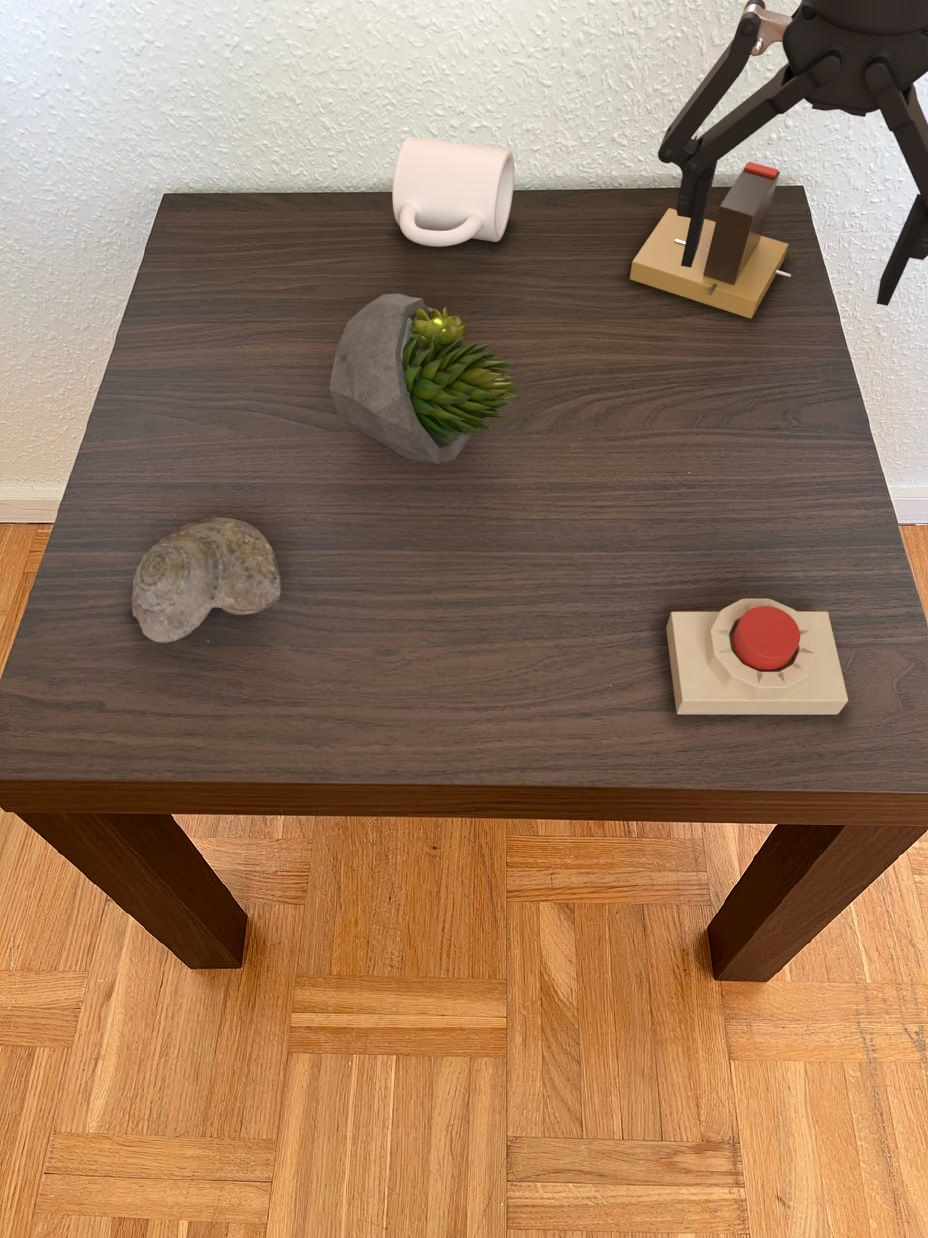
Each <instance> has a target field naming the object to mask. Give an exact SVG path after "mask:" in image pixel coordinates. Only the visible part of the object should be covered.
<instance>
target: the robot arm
mask: <svg viewBox="0 0 928 1238" xmlns="http://www.w3.org/2000/svg"><path fill="white" fill-rule="evenodd" d="M735 30H736V31H735V33H734V36H733V38H732V40H731V41H730V43H729V44H728V46H727V47H726V48H725V50H724V51H723V53H722V54H721V55H720V57H719V58H718V59H717V61H716V62H715V64H714V65H713V66H712V67H711V69H710V70H709V71H708V73H707V74H706V76H704V78H703V80H702V81H701V82H700V83H699V85H698V87H697V88H696V89H695V91H694V92H693V93H692V95H691V96H690V98H689V99H688V100H687V101H686V103H685V104H684V105H683V107H682V108H681V110H680V111H679V112H678V114H677V115H676V116H675V118H674V119H673V121H672V122H671V123H670V125H669V127H668V128H667V129H666V131H665V133H664V135H663V138H662V140H661V144H660V145H659V149H658V152H657V158H658V160H659V161H660V162H661V163H663V164H670V163H671V164H674V165H676V166H677V167H678V168H679V169H680V171H681V181H680V186H679V192H678V196H677V202H676V206H675V210H677V215H678V216H682V217H687V218H691V219H690V224H689V229H688V234H687V238H686V243H685V248H684V253H683V258H682V262H681V266H685V267H690V268H691V267H692V264H693V261H694V258H695V255H696V252H697V249H698V245H699V241H700V237H701V232H702V228H703V223H704V219H706V214H707V209H708V205H709V201H710V196H711V191H712V187H713V183H714V180H715V179H714V178H715V173H716V170H717V165H718V161H719V160H721V159H722V158H723V157H724V156H727V154H729V153H730V152H731V151H733V150H734V149H735V148H736V147H738V146H739V145H740V144H742V143H744V141H746V140H747V139H748V138H749V137H751V136H752V135H754V134H755V133H756V132H757V131H759V130H760V129H761V128H762V127H764V126H765V125H767V124H768V123H769V122H771V121H772V120H773V119H774V118H775V117H777V116H779V115H784V114H785V113H787V112H788V111H790V109H792V108H793V107H795V106H796V105H797V104H798V103H800V102H801V101H802V100H804V101H805V102H807V103H809V104H810V105H811V110H817V111H823V112H826V111H827V112H828V111H836V110H837V111H838V110H839V111H842V112H844V113H847V115H848V114H849V115H851V116H855V117H860V118H861V117H862V118H866V116H867V114H870V113H874V112H876V111H880V113H881V116H882V118H883V120H884V123H885V125H886V127H887V129H888V131H889V132H891V133H892V134H893V136H894V138H895V140H896V142H897V145H898V147H899V149H900V152H901V154H902V156H903V158H904V160H905V164H906V165H907V167H908V169H909V172H910V174H911V176H912V179H913V181H914V183H915V186H916V187H917V190H918V192H919V193H917V194H916V196H915V199H914V201H913V203H912V205H911V208H910V210H909V212H908V215H907V217H906V220H905V222H904V224H903V226H902V228H901V231H900V233H899V235H898V238H897V240H896V242H895V244H894V247H893V250H892V251H891V254H890V257H889V258H888V261H887V263H886V264H885V265H886V266H885V268H884V270H883V272H882V275H881V277H880V280H879V287H878V293H877V297H876V305H881V306H886V307H888V306H889V305H890V302H891V300H892V298H893V296H894V293H895V291H896V289H897V287H898V284H899V283H900V280H901V278H902V275H903V273H904V271H905V269H906V267H907V265H908V262H909V261H910V259H914V260H919V261H925V259H926V258H927V257H928V121H927V119H926V116H925V114H924V112H923V109H922V106H921V104H920V101H919V99H918V94H917V89H916V87H915V82H917V81H918V80H920V79H921V77H923V76H924V75H926V74H927V73H928V0H801V1H800V4H799V5H798V7H797V9H796V10H795V11H794V12H793V13H792V14H791V16H790V15H788V14H787V15H786V14H783V13H781V12H780V13H779V12H776V11H772V10H768V9H767V6H766V3H765V2H764V0H748V1H747V2H746V3H745V5H744V8H743V11H742V13H741V17H740V18H739V22H738V24H737V27H736V29H735ZM774 43H781V44H782V49H783V52H784V54H785V57H786V60H787V63H785V64H784V65H783V66H782V67H781V68H780V69H779V70H777V72H776V73H775V74H774V76H773V77H772V78H771V79H769V81H767V82H766V83H764V84H763V85H762V86H761V87H760V88H759V89H757V90H756V91H754V92H753V93H752V94H751V95H750V96H748V97H747V98H746V99H744V101H742V102H741V103H739V105H738V106H736V107H734V109H732V110H731V111H730V112H729V113H727V114H726V115H725V116H724V117H723V118H721V119H720V120H719V121H717V122H716V123H715V124H714V125H712V126H711V127H710V128H709V129H708V130H707V131H705V132H704V133H703V134H701V135H700V136H699V137H698V135H695V134H696V133H697V131H698V130H699V129H700V127H701V126H702V125H703V123H704V122H705V121H706V120H707V118H708V117H709V115H710V114H711V113H712V112H713V110H714V109H715V108H716V107H717V105H718V104H719V102H720V101H721V100H722V98H723V97H724V96H725V95H726V93H727V92H728V91H729V89H731V87H732V86H733V85H734V83H735V81H736V80H737V79H738V78H739V77H740V75H741V74H742V72H744V71H743V70H744V69H745V67H746V65H747V63H748V61H749V59H750V56H752V57H759V56H761V55H763V54H764V53H765V52H767V50H768V48H769V47H770V46H771V45H772V44H774ZM694 135H695V136H694Z"/></svg>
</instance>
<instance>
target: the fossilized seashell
mask: <svg viewBox="0 0 928 1238" xmlns="http://www.w3.org/2000/svg"><path fill="white" fill-rule="evenodd" d="M132 588H133V589H132V592H131V593H132V594H131V610H132V611H131V612H132V616H133V618H136V620H137V622H138V625H139V627H141V631H142V634H143V635H144V636H146V637H147V638H148V639H149V640H151V641H153V642H155V643H160V644H168V643H173V642H177V641H179V640H182V639H184V638H186V637H187V636H189V635H190V634H191V633H193V632H194V631H195V630H196V629H197V628H198V627H200V626H201V625H202V623H203V622H204V621H205V620H206V618H207V617H208V616H209V615H210V613H211V611H212V609H214V608H219V609H221V610H222V611H224V612H225V613H228V614H232V615H236V616H247V615H253V614H256V613H259V612H264V611H265V610H268V609H269V608H271V607H273V606H274V605H275V604H277V602H279V601H280V600H281V599H282V596H283V591H282V577H281V572H280V568H279V563H278V560H277V558H276V554H275V552H274V550H273V547H272V546H271V543H270V542H269V541H268V540H267V538H266V537H265V536H264V535H263V534H262V532H260V531H259V529H257V528H256V527H254V526H253V525H251V524H250V523H248V522H247V521H244V520H238V519H235V518H229V517H224V516H223V517H210V518H204V519H201V520H196V521H195V522H188V523H187V524H185V525H183V526H181V527H180V526H179V528H177V529H175V530H173V531H172V532H171V533H169V534H168V535H167V536H165V538H160V540H159V542H157V543H155V544H154V545H152V547H151V548H150V549H149V551H147V552H146V553H145V554H144V555H143V557H142V559H141V561H140V564H138V565H137V566H136V570H135V575H134V578H133V580H132Z"/></svg>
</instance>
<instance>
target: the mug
mask: <svg viewBox="0 0 928 1238" xmlns="http://www.w3.org/2000/svg"><path fill="white" fill-rule="evenodd" d="M514 186H515V158H514V154H513V152H512V151H511V150H509V149H503V148H502V149H501V148H495V147H488V146H483V145H482V146H481V145H474V144H468V143H460V142H454V141H447V140H439V139H431V138H425V137H418V136H408V137H406V138H405V139H404V140H403V142H402V143H401V145H400V147H399V151H398V152H397V156H396V161H395V165H394V170H393V179H392V193H391V194H392V195H391V196H392V210H393V215H394V219H395V222H396V224H397V225H398V226H399V227H400V230H401V232H402V234H403V235H404V236H405V237H406V238H407V239H408V240H410V241H412V242H414V243H416V244H419V245H421V246H427V247H449V246H455V245H459V244H462V243H464V242H467V241H469V240H470V239H473V240H480V241H485V242H492V243H498V242H499V241H501V239H502V238H503V236H504V234H505V232H506V228H507V225H508V221H509V217H510V213H511V208H512V202H513V194H514Z"/></svg>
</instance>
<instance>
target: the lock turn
mask: <svg viewBox="0 0 928 1238" xmlns="http://www.w3.org/2000/svg"><path fill="white" fill-rule="evenodd" d="M780 174H781V171H779V169H778V168H774V167H771V166H767V165H763V164H759V163H756V162H752V161H748V162H747V163H746V164H745V166H744V167H743V168H742V170H741V171H740V173H739V175H738V177H737V178H736V180H735V181H734V183H733V185H731V187H730V189H729V191H728V193H727V194H726V196H725V197H724V199H723V200H722V202H721V204H720V205H719V207H718V212H717V216H716V219H715V220H716V221H715V222H716V224H715V228H714V232H713V236H712V240H711V244H710V248H709V253H708V257H707V261H706V265H705V269H704V273H703V276H706V277H709V278H713V279H716V280H719V281H722V282H725V283H728V284H732V285H735V283H736V281H737V280H738V278H739V276H740V274H741V273H742V271H743V269H744V268H745V266H746V264H747V262H748V261H749V259H750V257H751V255H752V254H753V252H754V250H755V248H756V247H757V245H758V243H759V242H760V239H761V236H763V235H762V234H763V232H764V227H765V224H766V222H767V217H768V214H769V211H770V208H771V204H772V201H773V198H774V194H775V191H776V189H777V188H776V187H777V184H778V181H779V178H780Z"/></svg>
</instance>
